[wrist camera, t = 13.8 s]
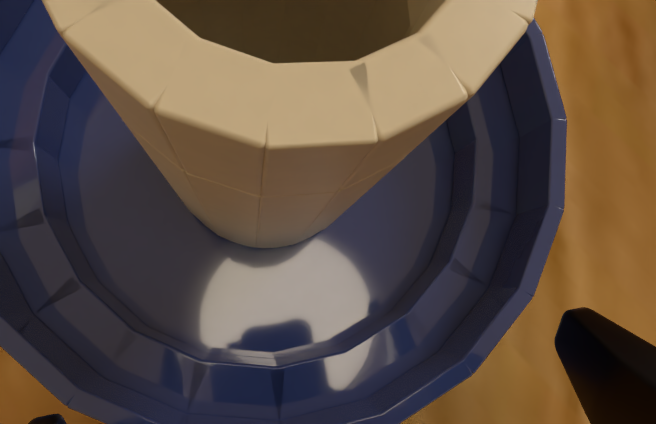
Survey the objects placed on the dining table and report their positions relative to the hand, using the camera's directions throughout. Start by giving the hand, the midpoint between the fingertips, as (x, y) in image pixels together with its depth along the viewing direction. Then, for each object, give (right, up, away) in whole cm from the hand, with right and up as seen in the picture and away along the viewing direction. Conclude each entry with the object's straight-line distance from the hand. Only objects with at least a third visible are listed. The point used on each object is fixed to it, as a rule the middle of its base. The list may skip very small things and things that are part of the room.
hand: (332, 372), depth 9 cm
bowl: (-2, +5, +9) cm, 11 cm away
